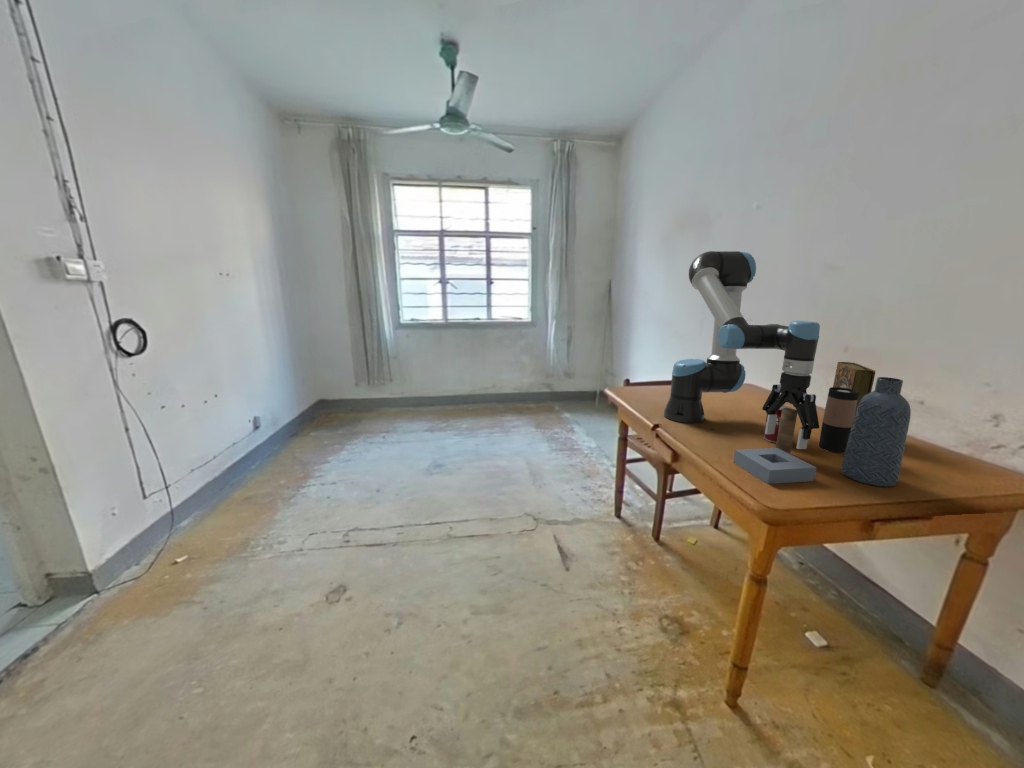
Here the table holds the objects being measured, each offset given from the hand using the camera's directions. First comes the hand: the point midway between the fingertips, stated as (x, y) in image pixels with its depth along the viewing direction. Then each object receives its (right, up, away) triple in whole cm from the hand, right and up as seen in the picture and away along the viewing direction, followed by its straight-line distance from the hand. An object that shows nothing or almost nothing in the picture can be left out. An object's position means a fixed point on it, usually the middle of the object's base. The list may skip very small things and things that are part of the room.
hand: (784, 440), depth 128 cm
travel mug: (+20, -4, +7) cm, 22 cm away
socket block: (-10, -7, -10) cm, 16 cm away
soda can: (+6, -2, +14) cm, 15 cm away
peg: (0, -5, +1) cm, 5 cm away
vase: (+14, -9, -13) cm, 21 cm away
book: (+35, 0, +22) cm, 42 cm away
